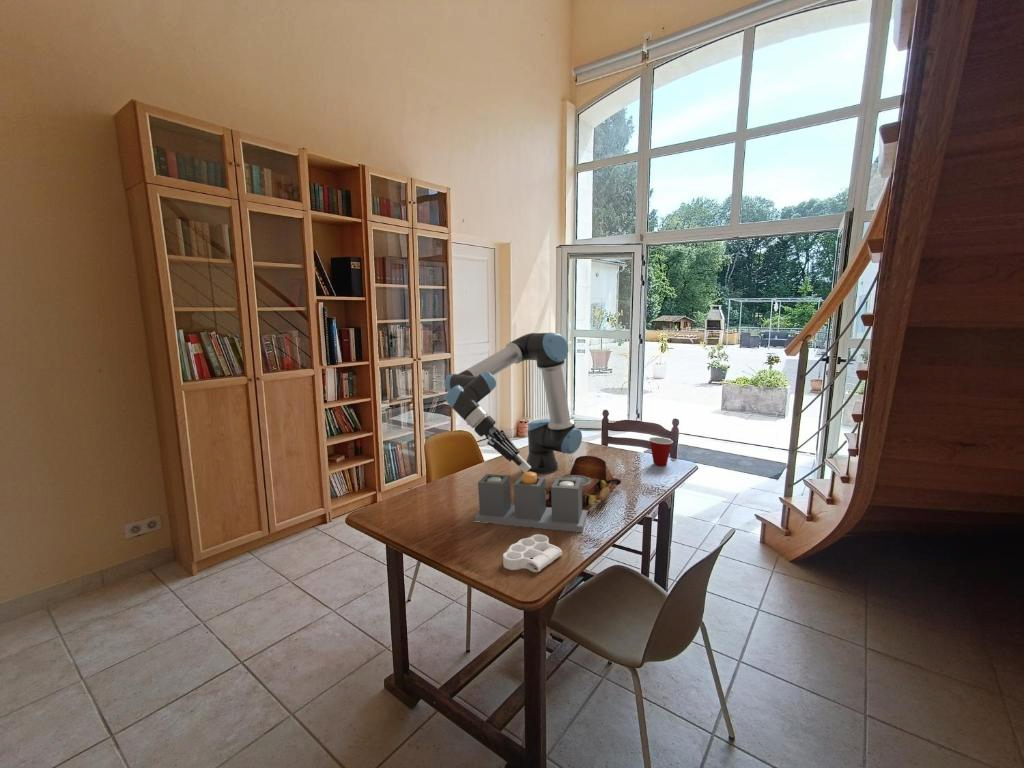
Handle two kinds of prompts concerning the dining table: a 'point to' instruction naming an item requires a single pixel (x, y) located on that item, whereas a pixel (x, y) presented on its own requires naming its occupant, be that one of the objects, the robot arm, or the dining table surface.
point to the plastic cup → (660, 450)
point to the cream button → (566, 484)
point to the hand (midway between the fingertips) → (528, 470)
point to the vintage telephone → (590, 480)
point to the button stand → (531, 504)
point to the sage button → (494, 479)
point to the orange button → (529, 478)
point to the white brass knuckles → (531, 553)
